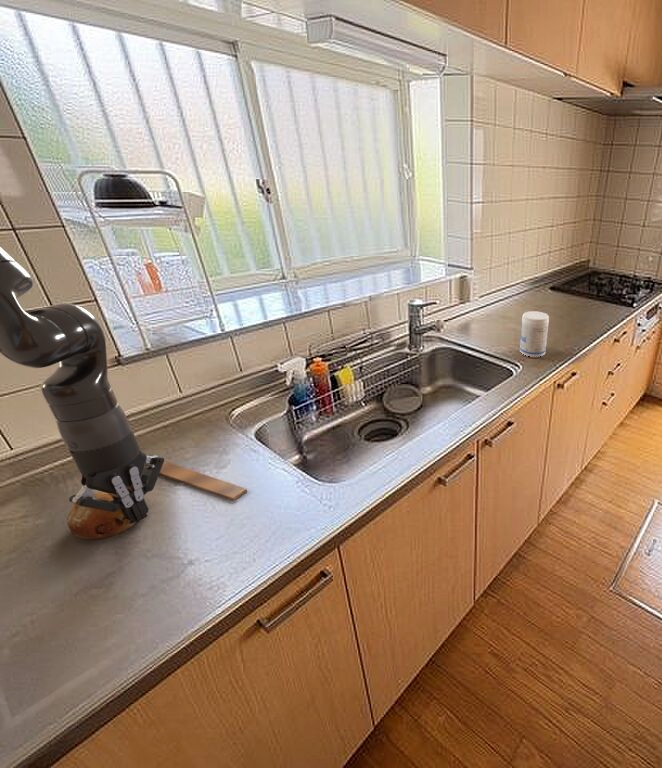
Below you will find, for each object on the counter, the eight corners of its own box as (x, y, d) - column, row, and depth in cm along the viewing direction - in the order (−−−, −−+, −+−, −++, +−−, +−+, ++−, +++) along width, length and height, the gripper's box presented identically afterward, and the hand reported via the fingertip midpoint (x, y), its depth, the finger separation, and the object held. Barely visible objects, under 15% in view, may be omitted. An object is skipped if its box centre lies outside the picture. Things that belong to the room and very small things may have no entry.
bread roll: (141, 511, 81) (116, 476, 79) (164, 509, 76) (138, 472, 74) (77, 547, 73) (47, 510, 71) (98, 548, 68) (67, 508, 66)
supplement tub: (515, 350, 156) (517, 312, 149) (537, 347, 160) (540, 309, 153) (527, 360, 148) (530, 320, 141) (550, 356, 152) (554, 317, 145)
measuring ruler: (145, 469, 87) (144, 467, 86) (160, 461, 89) (159, 459, 89) (233, 500, 80) (232, 498, 80) (247, 491, 83) (246, 488, 82)
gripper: (129, 410, 72) (163, 489, 79) (28, 452, 60) (78, 539, 68) (161, 419, 69) (192, 499, 77) (61, 465, 58) (110, 553, 66)
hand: (139, 518), depth 73 cm, fingers closed
